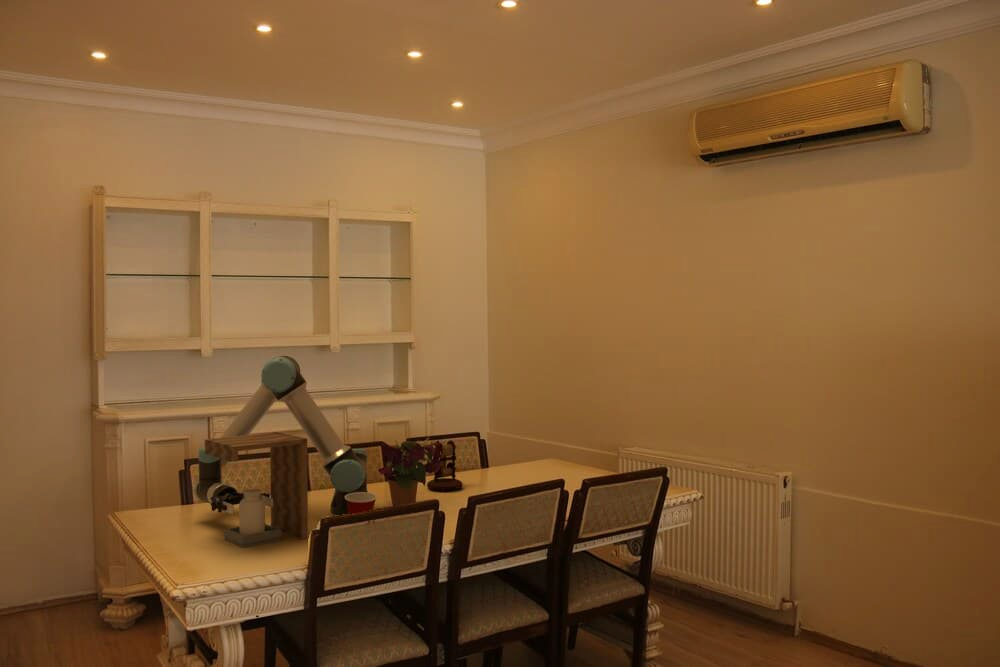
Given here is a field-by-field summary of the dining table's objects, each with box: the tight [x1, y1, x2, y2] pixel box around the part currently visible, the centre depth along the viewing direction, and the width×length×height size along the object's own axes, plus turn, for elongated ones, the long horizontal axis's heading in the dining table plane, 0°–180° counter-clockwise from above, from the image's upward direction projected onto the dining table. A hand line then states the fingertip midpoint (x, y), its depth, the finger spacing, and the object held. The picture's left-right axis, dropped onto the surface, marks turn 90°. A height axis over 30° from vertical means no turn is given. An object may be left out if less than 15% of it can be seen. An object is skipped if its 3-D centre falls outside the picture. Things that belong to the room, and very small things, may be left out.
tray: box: [223, 523, 282, 549], centre depth 275 cm, size 13×13×4 cm
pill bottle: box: [238, 488, 266, 535], centre depth 275 cm, size 8×8×15 cm
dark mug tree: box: [426, 439, 464, 493], centre depth 354 cm, size 15×15×20 cm
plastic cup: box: [345, 492, 378, 514], centre depth 286 cm, size 11×11×12 cm
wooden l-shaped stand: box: [204, 431, 309, 540], centre depth 275 cm, size 21×25×32 cm
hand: (252, 506), depth 274 cm, fingers open, 13 cm apart
